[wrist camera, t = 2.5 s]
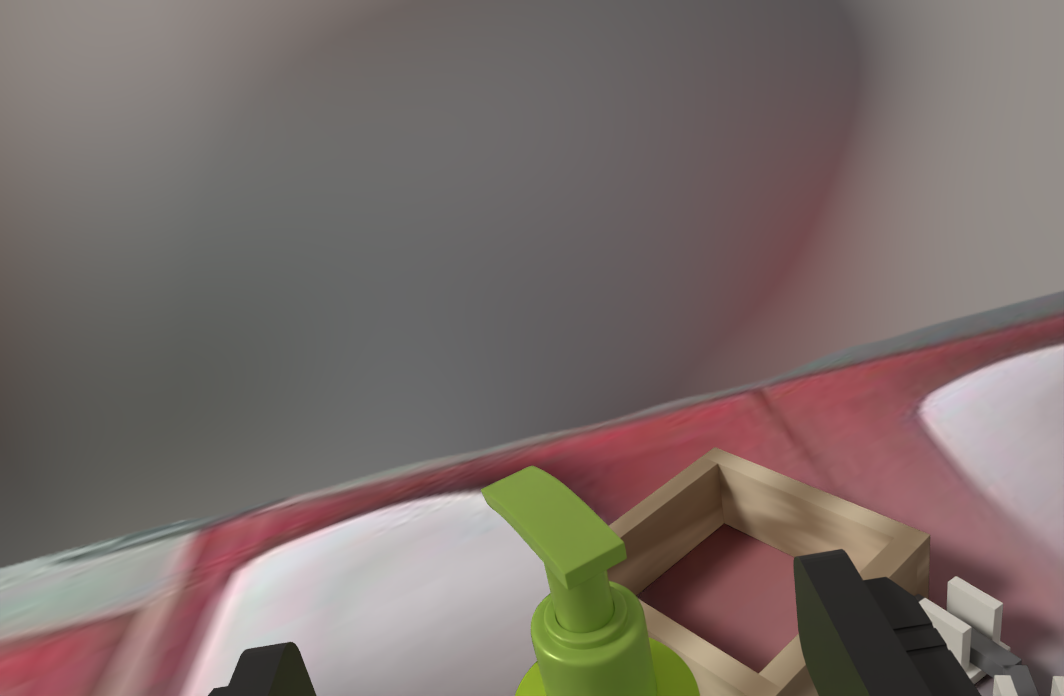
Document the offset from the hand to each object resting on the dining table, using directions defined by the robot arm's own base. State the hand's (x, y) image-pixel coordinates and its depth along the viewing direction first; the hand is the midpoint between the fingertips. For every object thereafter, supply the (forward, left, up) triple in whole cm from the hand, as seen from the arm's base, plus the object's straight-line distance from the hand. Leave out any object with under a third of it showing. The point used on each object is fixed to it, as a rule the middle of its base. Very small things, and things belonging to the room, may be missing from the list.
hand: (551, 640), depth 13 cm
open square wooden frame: (-14, +20, -25) cm, 35 cm away
